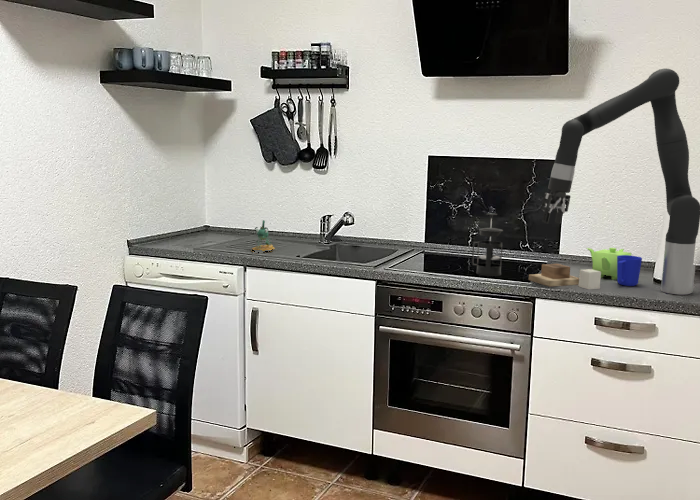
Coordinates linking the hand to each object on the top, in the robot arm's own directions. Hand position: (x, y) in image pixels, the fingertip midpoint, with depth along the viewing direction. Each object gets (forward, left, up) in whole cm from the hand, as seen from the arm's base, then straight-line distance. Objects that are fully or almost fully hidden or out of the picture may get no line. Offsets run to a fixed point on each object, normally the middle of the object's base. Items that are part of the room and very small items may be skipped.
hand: (551, 223), depth 245 cm
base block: (-4, -1, -20) cm, 20 cm away
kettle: (-31, -3, -22) cm, 38 cm away
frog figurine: (+79, -95, -22) cm, 125 cm away
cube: (-10, +10, -22) cm, 26 cm away
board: (-4, -1, -22) cm, 22 cm away
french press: (+11, -22, -22) cm, 33 cm away
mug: (-25, +11, -22) cm, 35 cm away
